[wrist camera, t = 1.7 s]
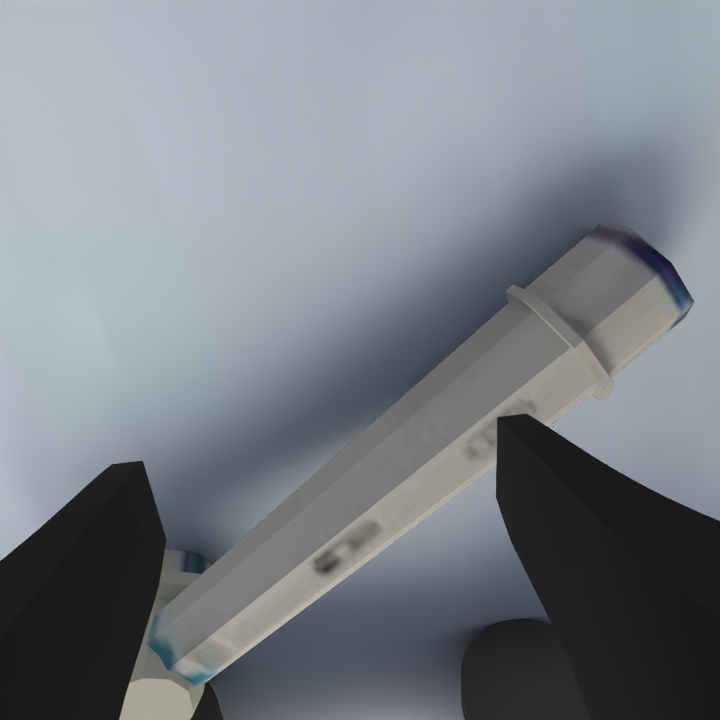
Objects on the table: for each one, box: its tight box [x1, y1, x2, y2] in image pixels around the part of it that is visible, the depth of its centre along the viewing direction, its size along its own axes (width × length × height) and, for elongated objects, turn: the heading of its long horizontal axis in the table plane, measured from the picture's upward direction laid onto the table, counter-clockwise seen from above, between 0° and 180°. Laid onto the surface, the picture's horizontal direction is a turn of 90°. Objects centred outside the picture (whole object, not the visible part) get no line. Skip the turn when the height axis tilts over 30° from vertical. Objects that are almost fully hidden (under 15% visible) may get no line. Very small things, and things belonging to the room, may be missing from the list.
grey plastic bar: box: [119, 223, 694, 720], centre depth 21 cm, size 5×7×25 cm
